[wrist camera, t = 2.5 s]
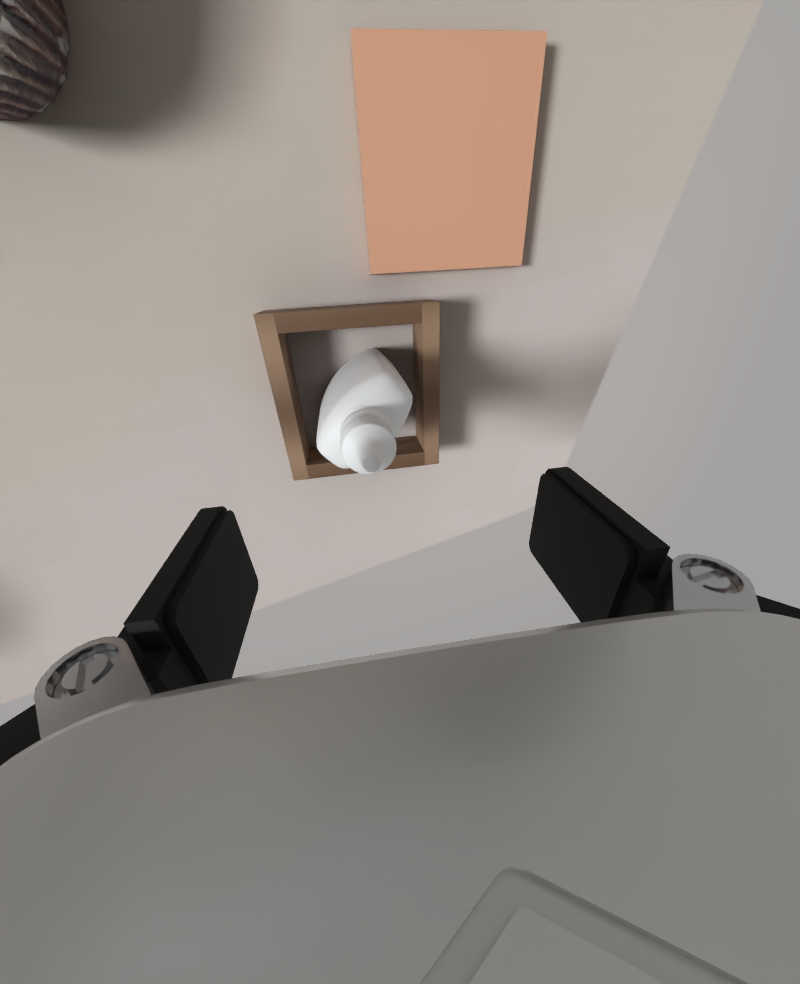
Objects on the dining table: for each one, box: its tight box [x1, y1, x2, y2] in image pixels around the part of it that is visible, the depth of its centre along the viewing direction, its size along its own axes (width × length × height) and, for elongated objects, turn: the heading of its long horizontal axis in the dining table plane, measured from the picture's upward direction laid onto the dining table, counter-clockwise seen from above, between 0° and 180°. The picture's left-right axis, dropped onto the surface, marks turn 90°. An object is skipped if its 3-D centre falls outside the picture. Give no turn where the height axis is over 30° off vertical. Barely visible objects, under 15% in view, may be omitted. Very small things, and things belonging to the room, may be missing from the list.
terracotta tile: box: [351, 29, 547, 275], centre depth 18 cm, size 9×9×1 cm
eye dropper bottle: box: [316, 349, 413, 474], centre depth 19 cm, size 4×6×12 cm
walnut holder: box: [253, 300, 440, 480], centre depth 22 cm, size 10×10×3 cm
